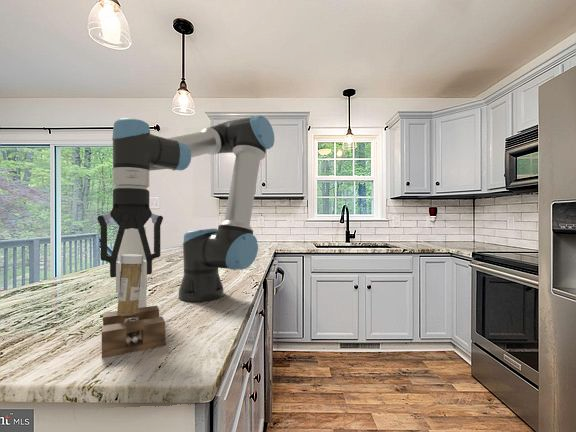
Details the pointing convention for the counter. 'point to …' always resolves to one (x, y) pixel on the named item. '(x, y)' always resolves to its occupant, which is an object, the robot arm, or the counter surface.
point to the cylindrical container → (133, 246)
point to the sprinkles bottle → (129, 284)
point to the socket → (118, 329)
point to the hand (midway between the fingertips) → (131, 289)
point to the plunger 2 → (134, 336)
